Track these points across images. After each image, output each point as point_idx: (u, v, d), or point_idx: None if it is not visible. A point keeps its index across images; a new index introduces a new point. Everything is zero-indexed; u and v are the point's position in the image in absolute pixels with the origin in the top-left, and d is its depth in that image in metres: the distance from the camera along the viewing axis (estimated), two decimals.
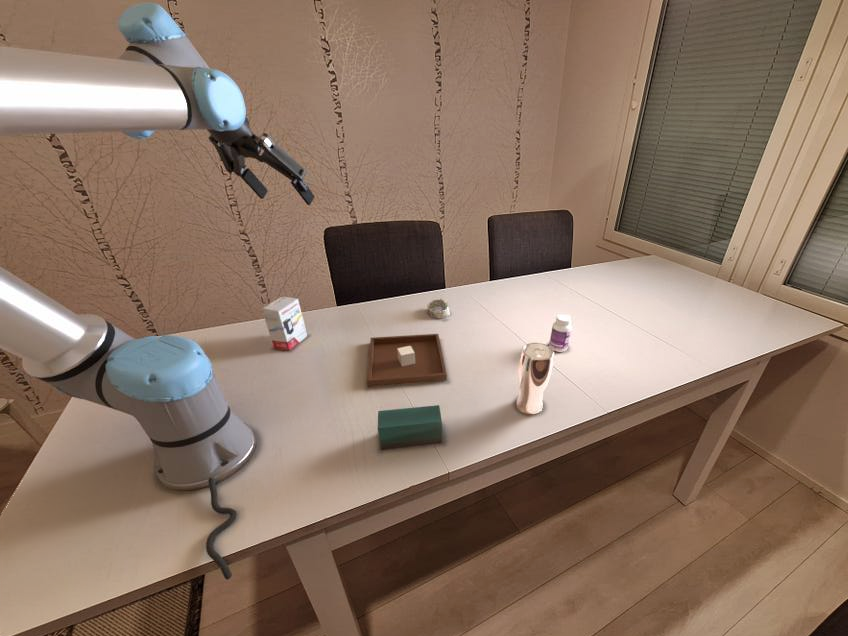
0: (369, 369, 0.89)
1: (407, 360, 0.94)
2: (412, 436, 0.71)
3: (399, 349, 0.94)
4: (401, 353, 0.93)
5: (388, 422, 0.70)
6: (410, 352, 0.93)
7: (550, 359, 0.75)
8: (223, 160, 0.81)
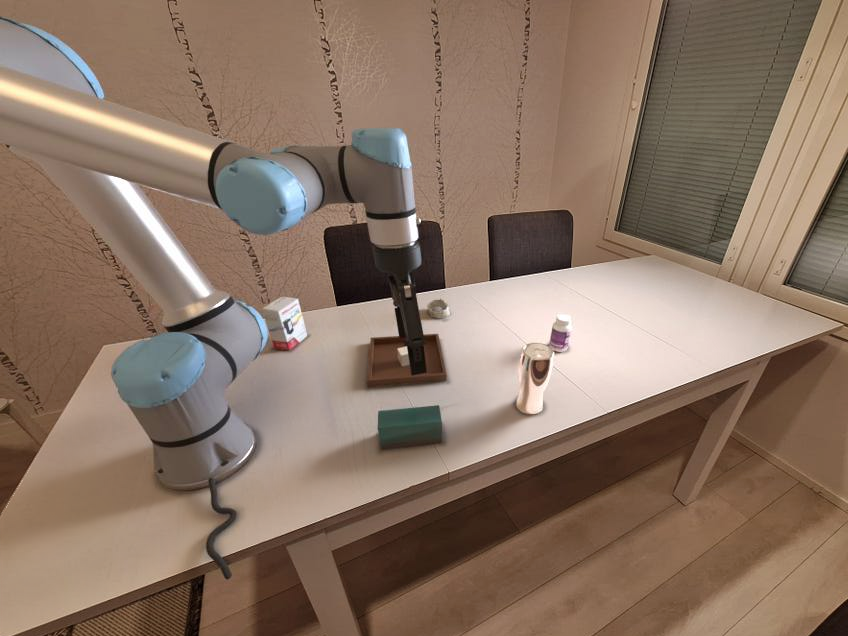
0: (369, 369, 0.89)
1: (407, 360, 0.94)
2: (412, 436, 0.71)
3: (399, 349, 0.94)
4: (401, 353, 0.93)
5: (388, 422, 0.70)
6: None
7: (550, 359, 0.75)
8: None
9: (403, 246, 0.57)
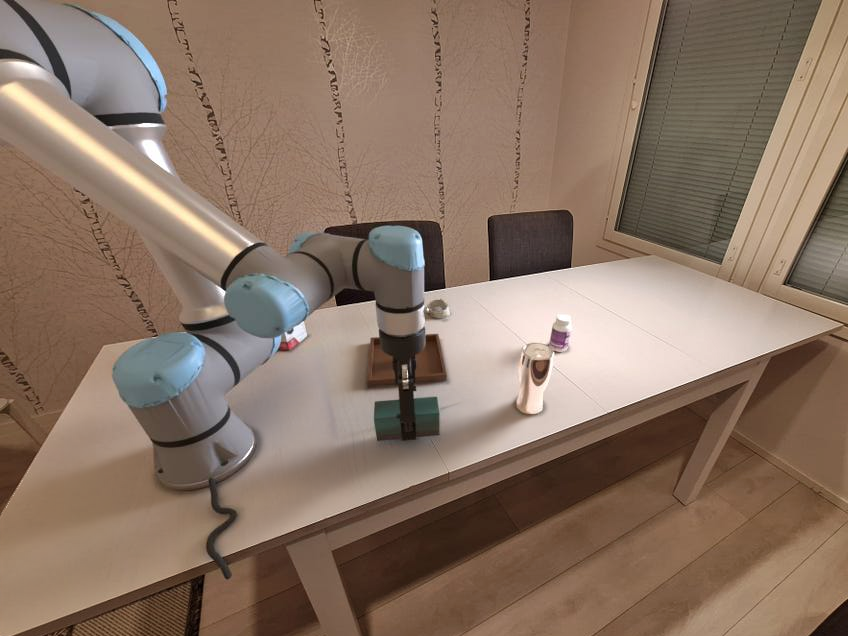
0: (369, 369, 0.89)
1: None
2: None
3: None
4: None
5: (385, 412, 0.69)
6: None
7: (550, 359, 0.75)
8: None
9: (407, 335, 0.58)
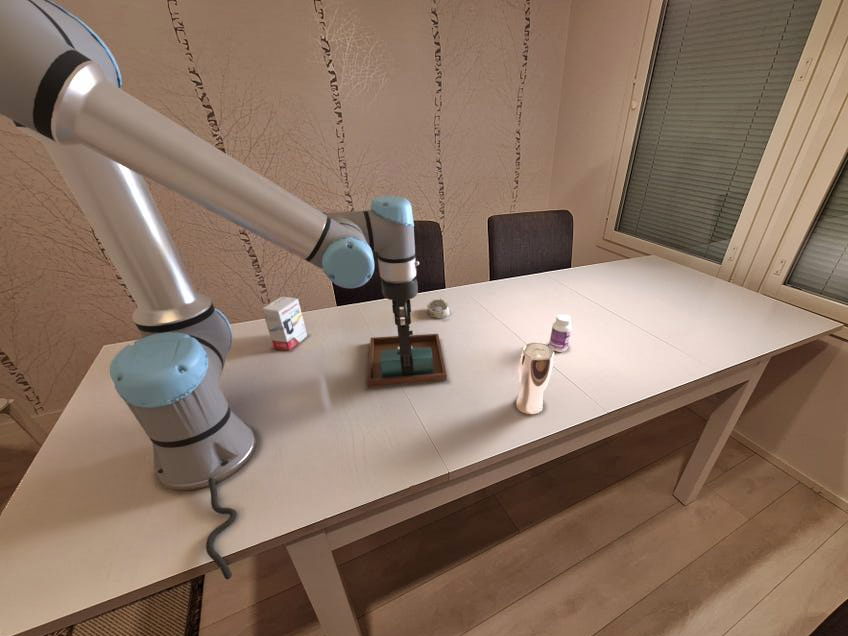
0: (369, 369, 0.89)
1: None
2: None
3: None
4: None
5: (389, 357, 0.86)
6: None
7: (550, 359, 0.75)
8: None
9: (403, 282, 0.75)
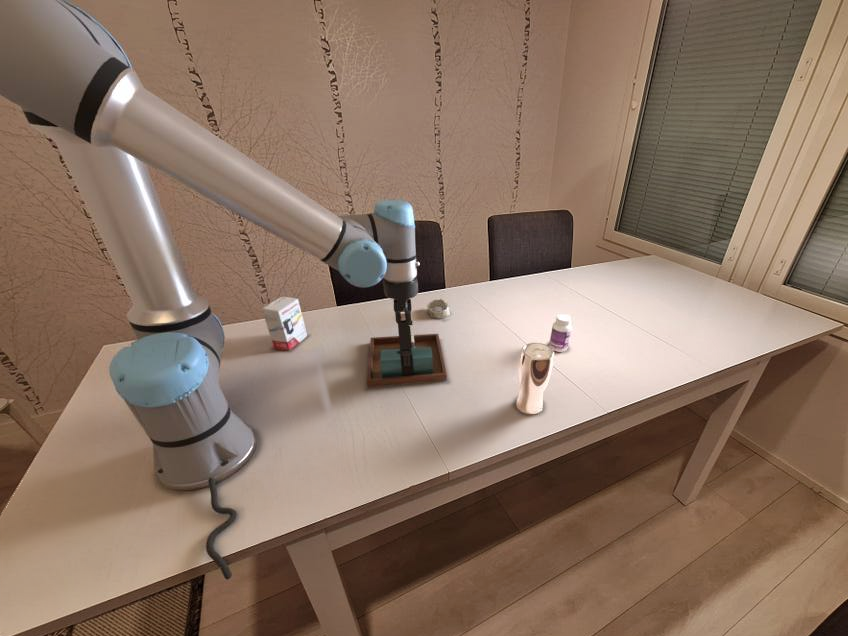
0: (369, 369, 0.89)
1: None
2: None
3: None
4: None
5: (389, 357, 0.87)
6: None
7: (550, 359, 0.75)
8: None
9: (403, 281, 0.78)
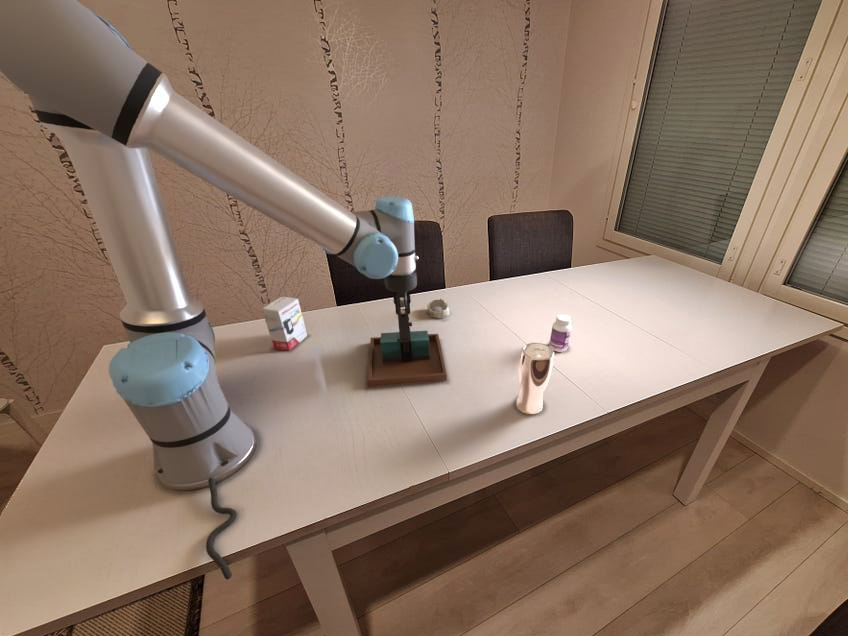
0: (369, 369, 0.89)
1: None
2: None
3: None
4: None
5: (388, 339, 0.93)
6: None
7: (550, 359, 0.75)
8: None
9: (403, 274, 0.82)
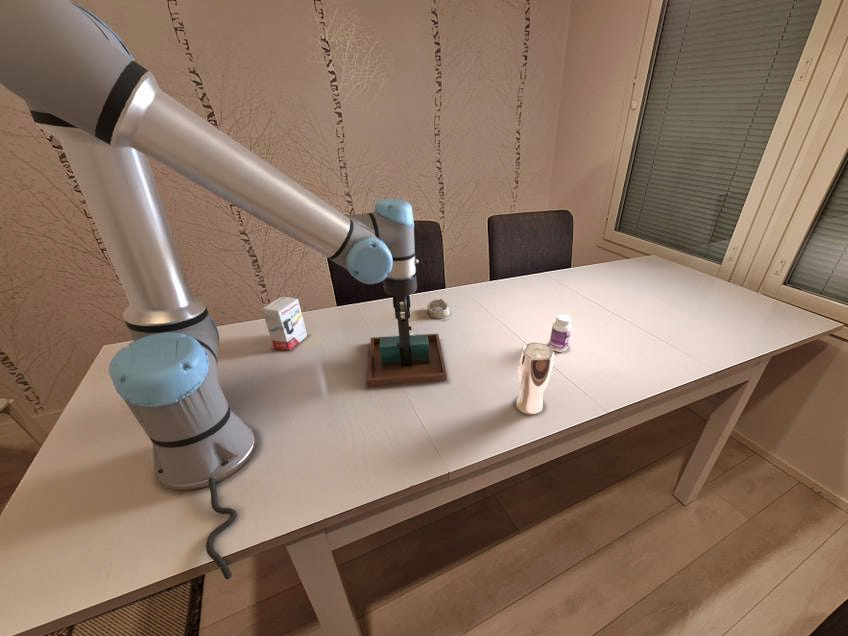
0: (369, 369, 0.89)
1: None
2: None
3: None
4: None
5: (388, 343, 0.91)
6: None
7: (550, 359, 0.75)
8: None
9: (403, 278, 0.81)
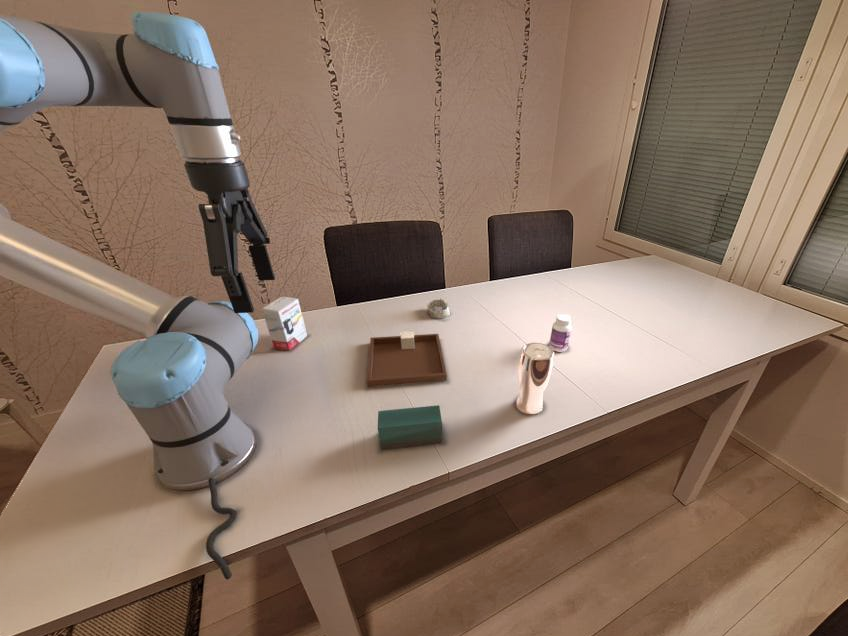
0: (369, 369, 0.89)
1: (406, 344, 1.00)
2: (412, 436, 0.71)
3: (402, 333, 1.01)
4: (402, 336, 0.99)
5: (388, 422, 0.70)
6: (410, 337, 0.99)
7: (550, 359, 0.75)
8: None
9: (211, 161, 0.51)
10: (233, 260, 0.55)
